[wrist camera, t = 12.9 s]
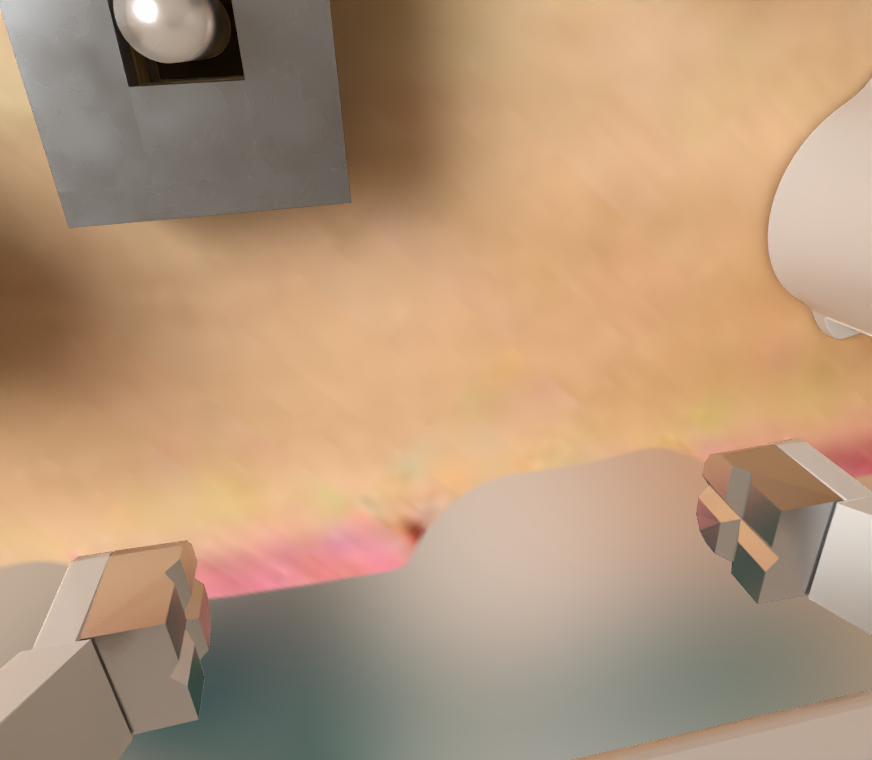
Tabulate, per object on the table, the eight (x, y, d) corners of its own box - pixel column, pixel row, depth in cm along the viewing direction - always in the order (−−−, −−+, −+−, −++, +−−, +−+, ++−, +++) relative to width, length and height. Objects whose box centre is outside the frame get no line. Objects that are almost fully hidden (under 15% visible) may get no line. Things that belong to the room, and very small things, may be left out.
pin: (236, 57, 32) (214, 60, 23) (173, 61, 31) (126, 65, 23) (224, -14, 30) (196, -39, 22) (157, -11, 30) (102, -36, 21)
